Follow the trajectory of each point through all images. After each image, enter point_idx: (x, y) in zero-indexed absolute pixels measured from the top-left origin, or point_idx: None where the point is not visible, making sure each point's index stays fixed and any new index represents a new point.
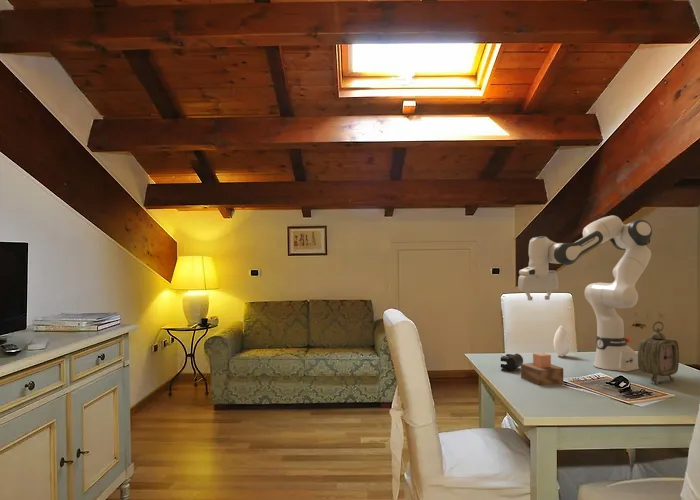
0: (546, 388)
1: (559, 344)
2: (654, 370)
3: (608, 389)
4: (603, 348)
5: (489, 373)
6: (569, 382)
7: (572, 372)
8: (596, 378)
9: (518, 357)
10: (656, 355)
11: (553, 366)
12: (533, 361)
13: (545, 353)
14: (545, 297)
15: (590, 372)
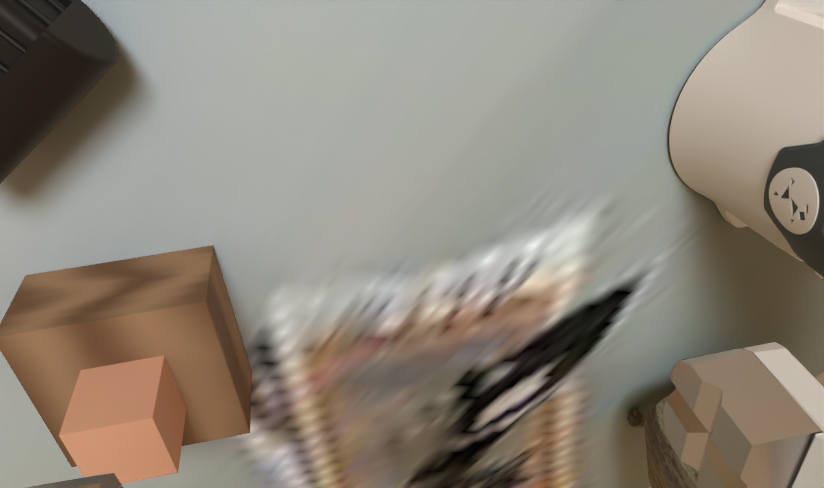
0: None
1: None
2: (648, 469)
3: (394, 454)
4: (768, 211)
5: None
6: (287, 367)
7: (436, 196)
8: (474, 317)
9: (42, 115)
10: None
11: (209, 401)
12: (75, 393)
13: (159, 437)
14: (714, 424)
15: (540, 209)
